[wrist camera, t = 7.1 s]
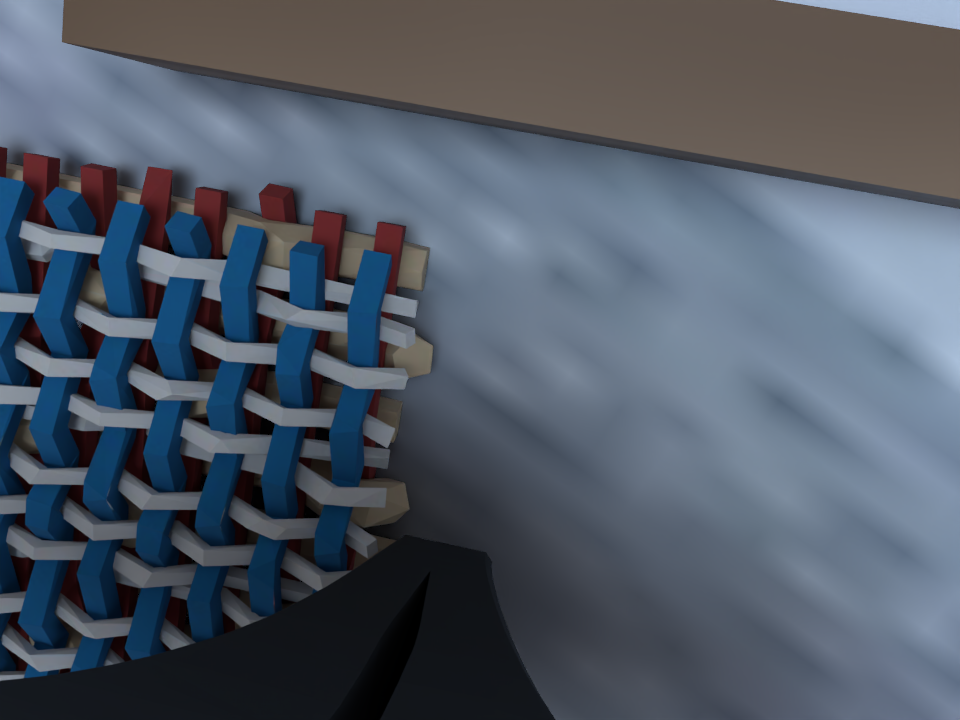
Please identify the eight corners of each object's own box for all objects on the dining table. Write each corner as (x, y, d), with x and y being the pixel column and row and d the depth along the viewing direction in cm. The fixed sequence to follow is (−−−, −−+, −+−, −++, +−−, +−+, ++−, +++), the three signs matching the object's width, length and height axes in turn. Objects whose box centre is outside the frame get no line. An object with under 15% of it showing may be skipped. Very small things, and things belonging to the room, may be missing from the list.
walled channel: (1034, 1160, 13) (1134, 1378, 11) (107, 918, 15) (13, 1066, 12) (1492, 165, 10) (1801, 164, 7) (184, -49, 11) (68, -113, 8)
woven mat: (468, 217, 11) (445, 226, 10) (358, 836, 14) (322, 944, 12) (-214, 84, 12) (-365, 67, 10) (-201, 693, 15) (-321, 773, 13)
